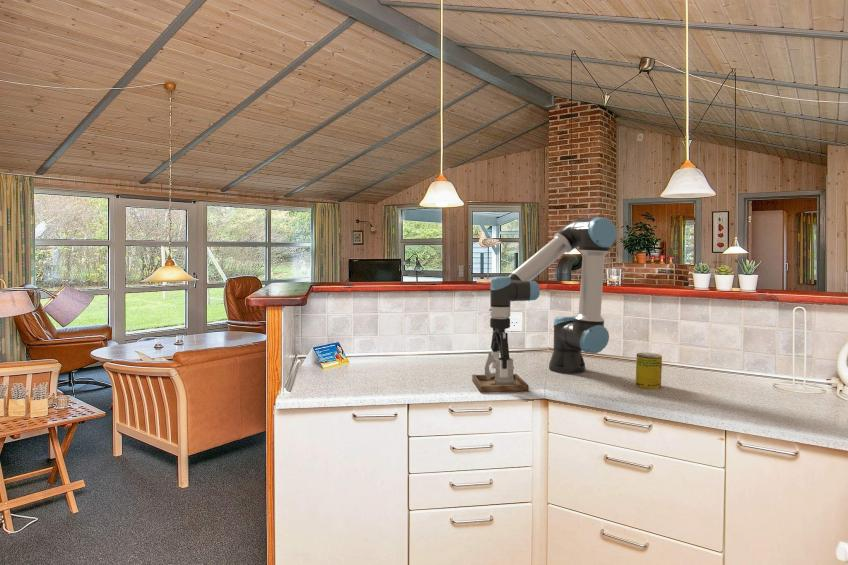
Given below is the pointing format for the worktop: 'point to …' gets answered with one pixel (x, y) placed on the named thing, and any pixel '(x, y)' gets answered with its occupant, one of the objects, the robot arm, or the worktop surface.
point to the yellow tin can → (648, 370)
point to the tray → (490, 386)
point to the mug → (498, 379)
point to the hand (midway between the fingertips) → (499, 372)
